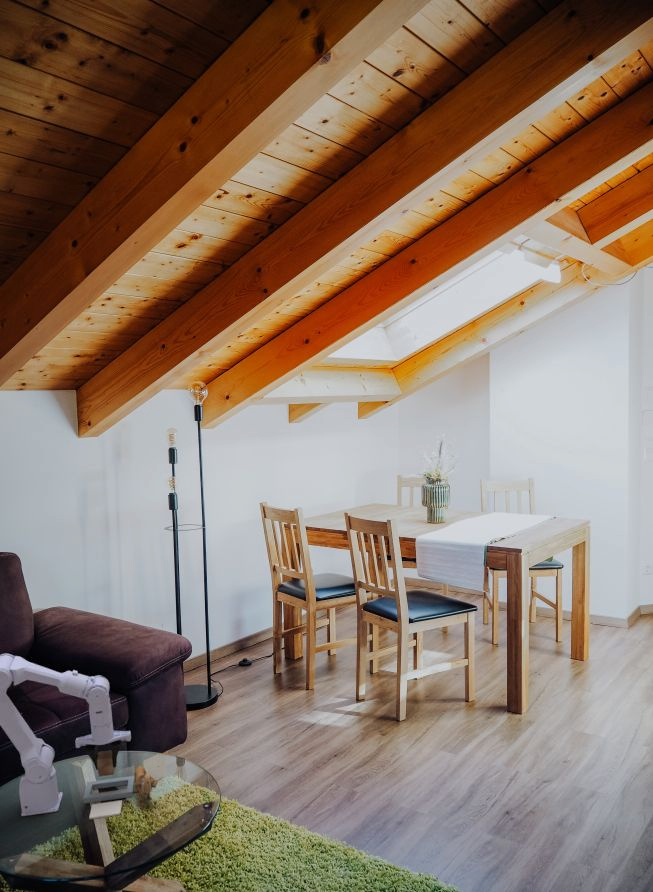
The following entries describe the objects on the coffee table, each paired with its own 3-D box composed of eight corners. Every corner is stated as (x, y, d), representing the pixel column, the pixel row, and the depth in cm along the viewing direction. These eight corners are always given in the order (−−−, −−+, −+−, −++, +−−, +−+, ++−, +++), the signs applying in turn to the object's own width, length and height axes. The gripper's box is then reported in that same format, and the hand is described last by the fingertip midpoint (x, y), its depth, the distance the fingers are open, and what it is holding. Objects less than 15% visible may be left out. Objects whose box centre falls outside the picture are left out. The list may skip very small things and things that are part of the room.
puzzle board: (83, 803, 209) (83, 798, 209) (87, 786, 216) (87, 781, 216) (132, 796, 211) (132, 791, 211) (135, 780, 218) (134, 775, 218)
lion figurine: (161, 805, 207) (158, 775, 205) (142, 812, 204) (139, 782, 202) (144, 778, 219) (141, 750, 217) (126, 785, 216) (122, 756, 215)
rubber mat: (89, 819, 202) (89, 817, 202) (92, 806, 208) (92, 804, 208) (120, 814, 203) (120, 813, 203) (122, 801, 209) (122, 800, 209)
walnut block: (98, 776, 209) (96, 760, 208) (100, 768, 213) (98, 752, 212) (113, 774, 210) (111, 758, 209) (115, 766, 214) (113, 750, 213)
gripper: (129, 710, 214) (134, 754, 216) (76, 717, 211) (81, 761, 214) (127, 723, 207) (132, 769, 209) (72, 731, 205) (77, 776, 207)
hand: (106, 766), depth 211 cm, fingers closed on walnut block, 4 cm apart
